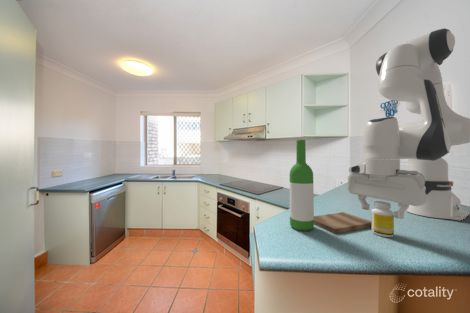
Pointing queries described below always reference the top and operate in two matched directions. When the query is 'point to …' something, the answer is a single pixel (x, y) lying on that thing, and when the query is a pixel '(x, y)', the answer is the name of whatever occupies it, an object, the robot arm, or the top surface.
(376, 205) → the supplement bottle
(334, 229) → the walnut board
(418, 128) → the robot arm
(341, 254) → the top surface
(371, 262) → the top surface
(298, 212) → the wine bottle
